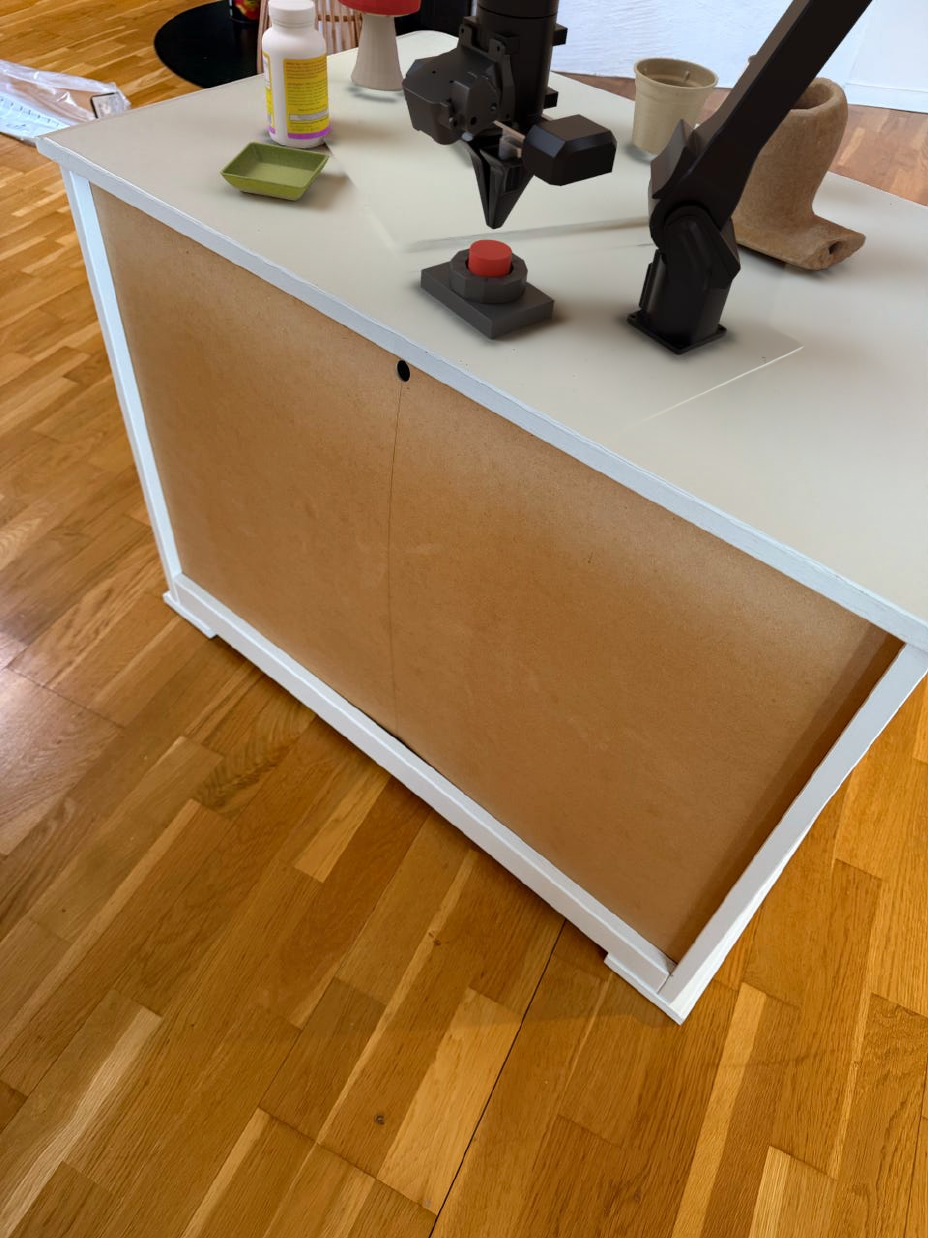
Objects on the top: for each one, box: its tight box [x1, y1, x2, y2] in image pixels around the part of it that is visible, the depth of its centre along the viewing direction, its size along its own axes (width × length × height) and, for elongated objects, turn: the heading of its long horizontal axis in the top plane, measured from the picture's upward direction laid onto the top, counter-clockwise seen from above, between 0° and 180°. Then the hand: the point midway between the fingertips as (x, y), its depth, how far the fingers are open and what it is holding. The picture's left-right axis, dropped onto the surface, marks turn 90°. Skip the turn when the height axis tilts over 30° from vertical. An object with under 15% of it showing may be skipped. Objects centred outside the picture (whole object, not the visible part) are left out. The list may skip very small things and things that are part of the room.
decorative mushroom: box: [337, 0, 422, 92], centre depth 104 cm, size 10×9×15 cm
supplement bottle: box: [261, 0, 330, 149], centre depth 94 cm, size 7×7×13 cm
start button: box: [468, 239, 513, 278], centre depth 76 cm, size 4×4×2 cm
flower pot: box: [631, 56, 719, 155], centre depth 101 cm, size 9×9×9 cm
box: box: [420, 247, 556, 340], centre depth 77 cm, size 10×7×4 cm
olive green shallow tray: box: [219, 141, 331, 201], centre depth 90 cm, size 9×9×2 cm
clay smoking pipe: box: [731, 76, 867, 271], centre depth 85 cm, size 15×12×15 cm
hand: (494, 226), depth 74 cm, fingers closed
